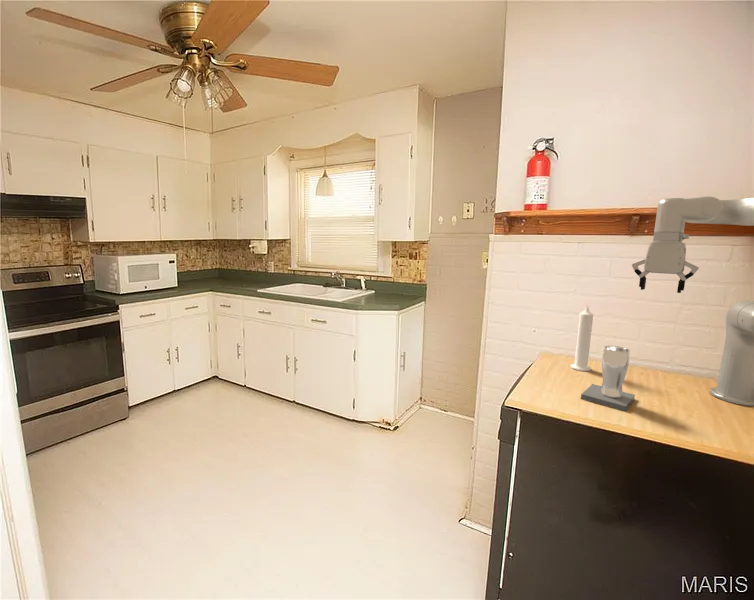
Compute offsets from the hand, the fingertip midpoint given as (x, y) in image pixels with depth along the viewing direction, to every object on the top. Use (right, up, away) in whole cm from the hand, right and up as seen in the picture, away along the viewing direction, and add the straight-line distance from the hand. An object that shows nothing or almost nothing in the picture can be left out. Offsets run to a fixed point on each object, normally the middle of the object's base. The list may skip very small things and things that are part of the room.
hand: (660, 290), depth 122 cm
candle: (-13, -30, +23) cm, 40 cm away
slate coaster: (-20, -34, -5) cm, 40 cm away
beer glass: (-19, -33, -5) cm, 39 cm away
